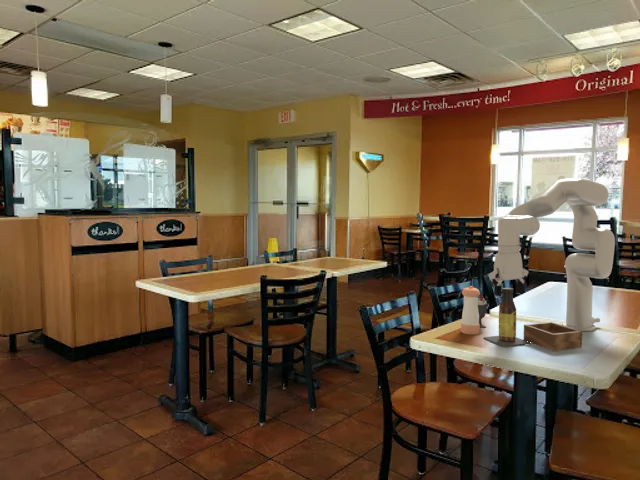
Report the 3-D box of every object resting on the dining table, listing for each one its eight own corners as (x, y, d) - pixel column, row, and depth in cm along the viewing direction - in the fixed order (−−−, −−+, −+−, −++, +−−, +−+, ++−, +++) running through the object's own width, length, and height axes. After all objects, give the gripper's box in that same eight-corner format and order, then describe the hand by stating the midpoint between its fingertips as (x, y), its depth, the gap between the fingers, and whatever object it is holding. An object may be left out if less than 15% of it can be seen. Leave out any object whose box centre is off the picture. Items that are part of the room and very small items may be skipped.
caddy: (550, 336, 189) (551, 322, 189) (581, 347, 175) (582, 331, 175) (523, 340, 185) (523, 324, 185) (553, 351, 171) (553, 334, 171)
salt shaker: (460, 333, 195) (460, 287, 194) (461, 329, 202) (462, 284, 201) (479, 335, 193) (479, 288, 191) (480, 330, 200) (480, 285, 198)
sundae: (483, 329, 201) (483, 294, 200) (468, 326, 206) (469, 292, 205) (491, 326, 206) (491, 292, 204) (477, 324, 211) (477, 290, 209)
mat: (509, 336, 191) (509, 334, 191) (530, 344, 180) (530, 342, 180) (483, 338, 188) (483, 337, 188) (503, 347, 176) (503, 345, 176)
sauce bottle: (517, 342, 180) (518, 290, 178) (499, 341, 181) (500, 289, 180) (514, 337, 186) (515, 287, 185) (497, 337, 188) (498, 286, 186)
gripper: (520, 247, 187) (520, 290, 189) (482, 250, 182) (483, 294, 184) (534, 249, 180) (534, 294, 182) (495, 252, 175) (495, 298, 177)
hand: (508, 294), depth 183 cm, fingers open, 9 cm apart
